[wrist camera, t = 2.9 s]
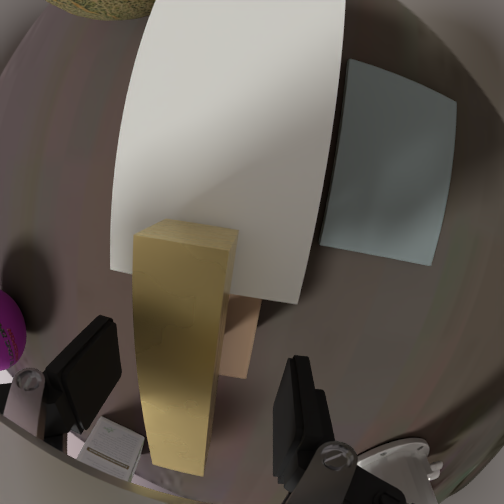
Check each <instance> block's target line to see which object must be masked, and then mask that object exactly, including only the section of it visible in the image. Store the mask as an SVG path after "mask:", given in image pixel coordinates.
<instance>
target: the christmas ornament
mask: <svg viewBox="0 0 504 504" xmlns="http://www.w3.org/2000/svg"><path fill="white" fill-rule="evenodd" d="M25 344H26V325H25V321H24V318H23V315H22V313H21V310H20V309H19V307H18V305H17V304H16V302H15V301H14V300H13V299H12V298H11V297H10V296H9V295H8V294H7V293H5V292H4V291H2V290H0V371H1V370H6V369H8V368H10V367H12V366H13V365H14V364H16V363H17V361H18V360H19V359H20V357H21V356H22V354H23V351H24V348H25Z"/></svg>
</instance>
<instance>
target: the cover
mask: <svg viewBox="0 0 504 504" xmlns="http://www.w3.org/2000/svg"><path fill="white" fill-rule="evenodd" d="M344 18H345V0H156V1H155V3H154V6H153V8H152V11H151V14H150V16H149V19H148V22H147V25H146V28H145V31H144V34H143V37H142V40H141V43H140V47H139V50H138V53H137V57H136V60H135V64H134V68H133V72H132V76H131V80H130V84H129V88H128V92H127V97H126V102H125V107H124V112H123V117H122V123H121V128H120V135H119V141H118V148H117V155H116V163H115V172H114V182H113V194H112V209H111V232H110V269H111V270H115V271H120V272H124V273H129V274H132V267H133V235H134V234H136V233H138V232H140V231H142V230H144V229H146V228H148V227H150V226H152V225H154V224H156V223H158V222H160V221H162V220H164V219H172V220H179V221H185V222H192V223H198V224H205V225H211V226H217V227H223V228H230V229H236V230H239V234H238V241H237V247H236V254H235V261H234V268H233V274H232V281H231V288H230V294H235V295H241V296H247V297H253V298H259V299H266V300H272V301H278V302H285V303H292V304H298V300H299V296H300V292H301V288H302V283H303V279H304V275H305V271H306V266H307V262H308V257H309V253H310V248H311V244H312V239H313V234H314V229H315V225H316V220H317V215H318V210H319V204H320V199H321V194H322V188H323V183H324V177H325V172H326V166H327V160H328V154H329V148H330V141H331V135H332V128H333V121H334V114H335V107H336V99H337V91H338V83H339V74H340V65H341V55H342V44H343V32H344Z"/></svg>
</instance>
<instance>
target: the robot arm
mask: <svg viewBox="0 0 504 504" xmlns="http://www.w3.org/2000/svg"><path fill="white" fill-rule="evenodd" d="M45 369H46V370H45V371H44V372H43V373H42V372H41V371H39V370H38V369H35V368H25V369H22V370H20V371H18V372H17V373H16V374H15V376H14V378H13V381H12V383H7V384H0V504H211V503H206V502H200V501H195V500H191V499H186V498H182V497H178V496H174V495H170V494H166V493H162V492H158V491H155V490H152V489H149V488H146V487H142V486H139V485H136V484H133V483H131V482H128V481H125V480H122V479H120V478H117V477H115V476H112V475H110V474H107V473H105V472H102V471H100V470H98V469H96V468H93V467H91V466H89V465H87V464H85V463H83V462H80V461H78V460H76V459H74V458H72V457H70V456H68V455H67V433H68V432H69V431H70V430H72V431H74V432H76V433H78V434H80V435H81V434H82V432H83V430H84V429H85V430H87V429H88V428H89V427H90V425H91V423H92V422H93V420H94V418H95V417H96V415H97V414H98V412H99V410H100V409H101V407H102V406H103V404H104V402H105V401H106V399H107V398H108V396H109V394H110V393H111V391H112V390H113V388H114V387H115V385H116V383H117V382H118V380H119V379H120V377H121V373H122V369H121V362H120V355H119V346H118V337H117V327H116V323H114V322H113V319H112V318H109V317H105V316H102V315H99V316H97V317H96V318H95V319H94V320H93V321H92V322H91V323H90V324H89V325H88V326H87V327H86V328H85V329H84V330H83V331H82V332H81V333H80V334H79V335H78V336H77V337H76V338H75V339H74V340H73V341H72V342H71V343H70V344H69V345H68V346H67V347H66V348H65V349H64V350H63V351H62V352H61V353H60V354H59V355H58V356H57V357H56V358H55V359H54V360H53V361H52V362H51V363H50V364H49V365H48V366H47V367H46V368H45ZM429 450H430V449H429V446H428V444H427V442H426V441H425V440H424V439H421V438H406V439H401V440H397V441H393V442H390V443H387V444H384V445H381V446H379V447H376V448H374V449H371V450H369V451H367V452H365V453H363V454H361V455H359V456H358V457H357V453H356V452H355V450H354V449H353V448H352V447H351V446H349V445H348V444H346V443H343V442H339V441H335V438H334V433H333V429H332V424H331V419H330V414H329V410H328V405H327V401H326V396H325V392H324V391H323V390H321V389H315V387H314V382H313V376H312V371H311V366H310V361H309V357H307V356H298V355H294V356H293V359H292V358H288V360H287V363H286V367H285V370H284V373H283V377H282V380H281V383H280V386H279V389H278V393H277V396H276V399H275V402H274V406H273V476H275V477H278V484H284V488H285V489H286V490H288V491H289V492H288V494H287V495H286V497H285V498H284V500H283V502H282V503H281V504H438V503H437V500H436V497H435V495H434V492H433V489H432V487H431V484H430V481H429V480H433V479H436V478H437V477H438V476H439V474H440V470H439V469H441V468H442V466H443V463H442V461H437V462H433V463H431V464H430V463H429V462H428V460H427V456H428V454H429Z"/></svg>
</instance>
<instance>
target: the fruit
mask: <svg viewBox="0 0 504 504" xmlns="http://www.w3.org/2000/svg"><path fill="white" fill-rule="evenodd" d="M46 1H47V2H49V3H51V4H53V5H55V6H57V7H59V8H60V9H63V10H65V11H67V12H69V13H71V14H74V15H77V16H82V17H86V18H90V19H96V20H128V19H136V18H141V17H144V16H148V15H150V14H151V11H152V8H153V6H154V3H155V1H156V0H46Z"/></svg>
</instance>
